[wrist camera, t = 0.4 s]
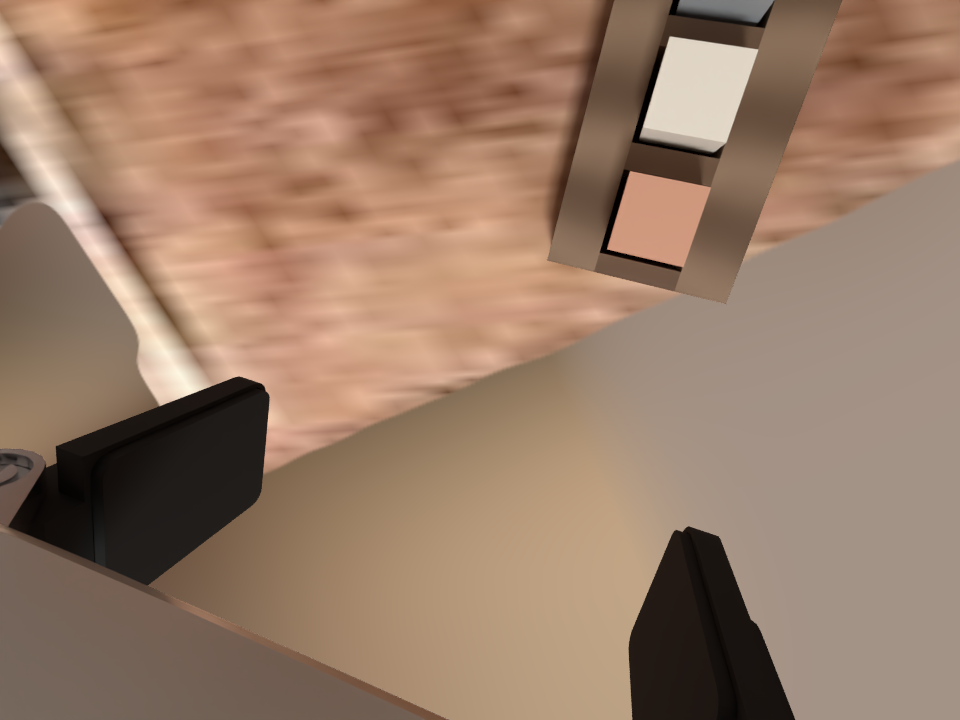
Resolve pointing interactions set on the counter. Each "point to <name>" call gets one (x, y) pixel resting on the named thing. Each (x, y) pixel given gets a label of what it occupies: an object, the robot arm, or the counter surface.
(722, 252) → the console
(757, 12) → the key slate
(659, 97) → the key ivory
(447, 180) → the counter surface
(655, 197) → the key terracotta
